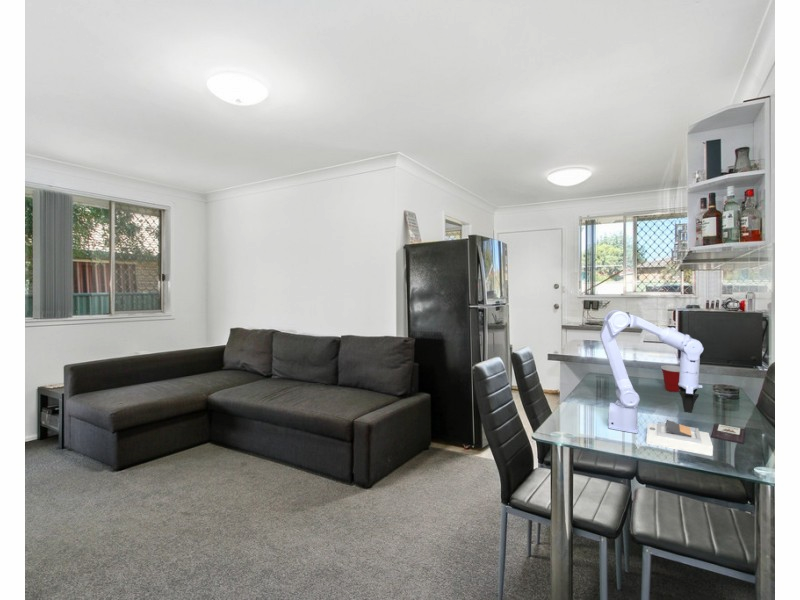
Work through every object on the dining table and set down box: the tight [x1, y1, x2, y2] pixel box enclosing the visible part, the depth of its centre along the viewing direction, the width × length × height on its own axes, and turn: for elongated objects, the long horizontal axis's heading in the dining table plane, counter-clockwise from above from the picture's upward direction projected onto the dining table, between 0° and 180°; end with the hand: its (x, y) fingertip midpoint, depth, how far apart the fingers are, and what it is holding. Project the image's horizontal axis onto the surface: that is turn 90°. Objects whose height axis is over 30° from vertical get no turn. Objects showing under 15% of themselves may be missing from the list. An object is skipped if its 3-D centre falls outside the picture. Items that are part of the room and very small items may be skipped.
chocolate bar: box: [710, 423, 746, 445], centre depth 152 cm, size 9×1×18 cm
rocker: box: [665, 419, 691, 437], centre depth 143 cm, size 7×9×2 cm
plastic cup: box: [660, 364, 680, 393], centre depth 214 cm, size 11×11×12 cm
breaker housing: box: [645, 421, 714, 457], centre depth 143 cm, size 18×15×4 cm
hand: (687, 409), depth 150 cm, fingers open, 7 cm apart
